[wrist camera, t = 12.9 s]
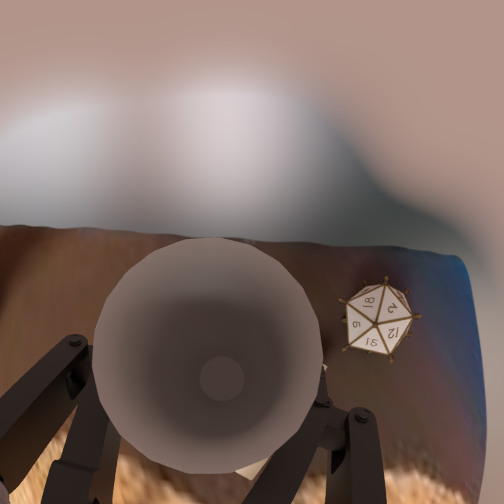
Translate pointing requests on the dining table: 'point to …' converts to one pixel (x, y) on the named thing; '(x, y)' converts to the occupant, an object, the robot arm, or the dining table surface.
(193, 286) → the chalice
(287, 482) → the robot arm
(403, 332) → the game die
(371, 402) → the dining table surface
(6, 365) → the dining table surface
